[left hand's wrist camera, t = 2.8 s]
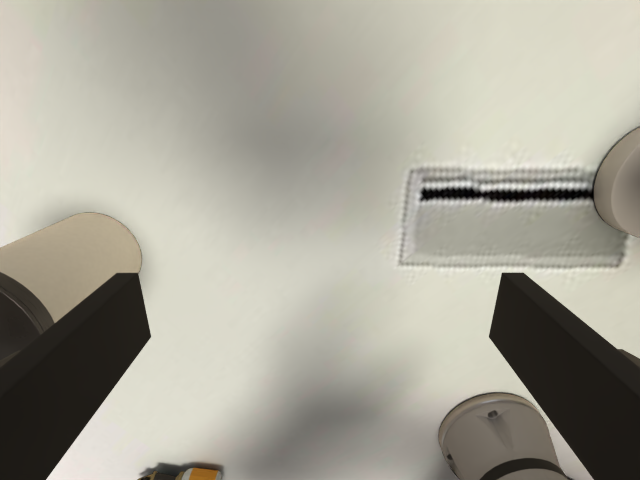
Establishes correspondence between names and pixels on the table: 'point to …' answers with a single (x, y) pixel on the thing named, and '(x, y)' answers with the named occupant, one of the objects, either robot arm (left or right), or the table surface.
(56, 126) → the table surface
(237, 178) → the table surface
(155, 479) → the spray gun
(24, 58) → the table surface
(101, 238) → the jar
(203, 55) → the table surface
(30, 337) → the lid
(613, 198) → the bust sculpture
